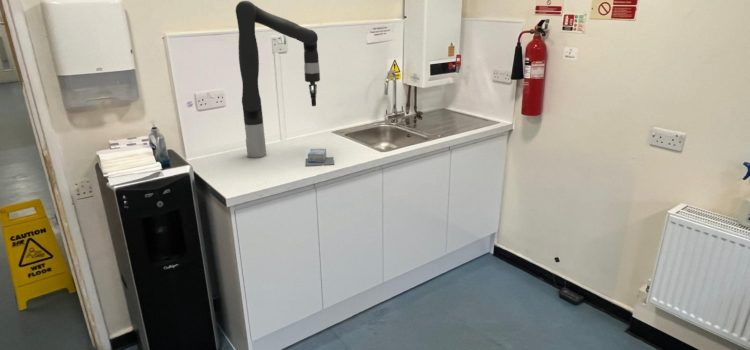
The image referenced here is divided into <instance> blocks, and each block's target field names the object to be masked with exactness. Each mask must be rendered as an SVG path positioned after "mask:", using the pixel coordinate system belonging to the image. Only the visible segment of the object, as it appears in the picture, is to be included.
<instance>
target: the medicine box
mask: <svg viewBox="0 0 750 350" xmlns="http://www.w3.org/2000/svg"><path fill="white" fill-rule="evenodd" d="M326 157H327V150H326V148H310V149H309V152H308V153H307V158H308V162H324V161H325V159H326Z"/></svg>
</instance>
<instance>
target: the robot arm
mask: <svg viewBox="0 0 750 350" xmlns="http://www.w3.org/2000/svg"><path fill="white" fill-rule="evenodd" d="M235 16H236V21H237V26H238V27H237V28H238V62H239V63H238V64H239V71H240V76H241V83H242V92H241V93H242V95H241V104H242V114H243V124H244V130H245V145H246V154H247V158H253V159H258V158H264V157H265V156H267V147H266V137H265V129H264V117H263V107H262V100H261V95H260V90H259V73H260V72H259V71H260V61H259V60H260V59H259V58H260V56H259V47H258V42H257V37H256V24H259V25H262V26H265V27H267V28H269V29H271V30H273V31H275V32H277V33H279V34H282V35H283V36H287V37H289V38H291V39H294V40H297V41H299V42H301V43H303V58H304V59H303V61H304V62H303V63H304V66H303V69H304V81H305V82H307V83H309V84H308V89H309V95H310V99H311V101H310V102H311V106H312V107H316V106H317V100H316V99H317V91H318V90H317V88H318V85H317V84H316V83H318V82H320V81H321V74H320V73H321V72H320V71H321V70H320V63H319V61H320V60H319V51H318V39H319V38H318V34H317V33H316V31H315V30H313V29H308V28H306V27H303V26H300V25H299V24H297V23H296V22H294V21H291V20H289V19H286V18H284V17H280V16H277V15H275V14H273V13H269V12H267V11H266V10H264V9H261V8H260V7H259V6H257V5H255V4H254V3H253V2H251V1H250V0H242V1H239V2H238V4H236V7H235Z"/></svg>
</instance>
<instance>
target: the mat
mask: <svg viewBox="0 0 750 350" xmlns="http://www.w3.org/2000/svg"><path fill="white" fill-rule="evenodd" d="M334 158H335V157H334V156H329V157H327V156H326V159H325V161H324V162H308V157H306V158H305V163H304V165H305V167H318V166H319V167H321V166H322V165H324V166H335V160H334Z"/></svg>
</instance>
